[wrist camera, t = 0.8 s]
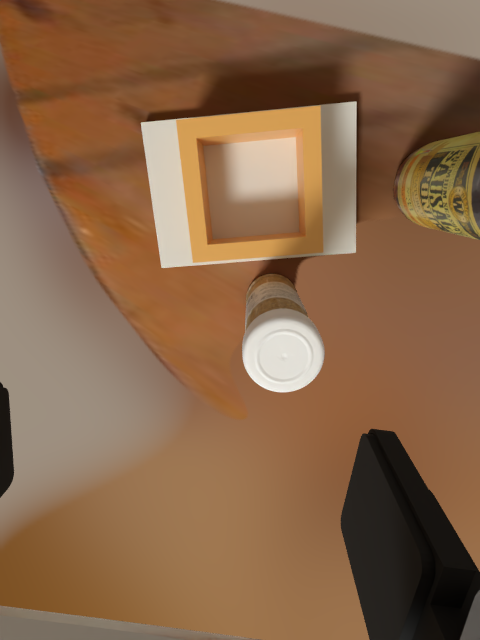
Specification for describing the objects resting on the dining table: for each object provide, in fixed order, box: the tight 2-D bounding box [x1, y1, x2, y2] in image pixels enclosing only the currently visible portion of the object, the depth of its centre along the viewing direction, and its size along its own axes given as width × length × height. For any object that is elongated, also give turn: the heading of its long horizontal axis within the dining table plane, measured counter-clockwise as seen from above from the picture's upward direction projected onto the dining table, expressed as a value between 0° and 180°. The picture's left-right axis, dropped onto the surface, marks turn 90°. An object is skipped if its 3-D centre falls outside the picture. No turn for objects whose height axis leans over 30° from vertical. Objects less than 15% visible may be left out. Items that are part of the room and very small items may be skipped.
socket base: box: [141, 101, 357, 268], centre depth 29 cm, size 16×11×5 cm
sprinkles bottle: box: [242, 274, 324, 392], centre depth 28 cm, size 5×5×13 cm
